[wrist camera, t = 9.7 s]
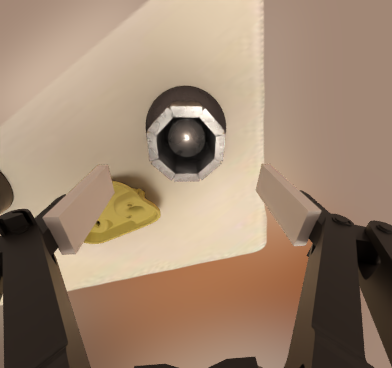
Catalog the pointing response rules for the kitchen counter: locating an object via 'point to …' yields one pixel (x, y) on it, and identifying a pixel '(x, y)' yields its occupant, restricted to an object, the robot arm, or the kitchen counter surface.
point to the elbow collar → (180, 165)
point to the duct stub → (186, 120)
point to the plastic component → (123, 214)
